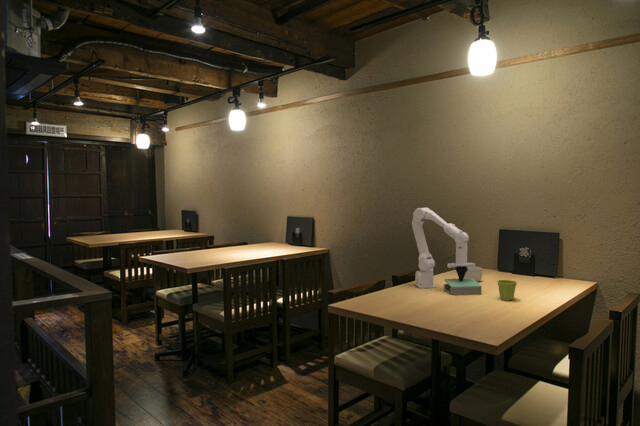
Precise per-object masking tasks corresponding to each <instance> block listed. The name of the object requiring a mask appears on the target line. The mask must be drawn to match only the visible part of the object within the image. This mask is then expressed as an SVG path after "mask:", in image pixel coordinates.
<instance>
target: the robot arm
mask: <svg viewBox="0 0 640 426" xmlns="http://www.w3.org/2000/svg"><path fill="white" fill-rule="evenodd" d="M427 220H428V221H429V220H431V221H433V222H434V223H436V224H437V225H438V226H440V227H441V228H443V231H444V233H446V235H448V237H451V238H452V239H453V240H454V242H455V262H451V263H450V262H449V263H447V267H446V268H449V269H450V268H454V270H455V271H456V273H457V278H458V279H459V280H460V281H463V279H464V276H465V273H466V272H467V270H468V268H467V267H476V263H474V262H468V241H469V240H470V236H469V234H468V233H467V232H465V231H463V230H462V229H459V228H458V227H457V226H456V224H454V223H451V222H450V223H447V221H445V220H444V219H443V218H442V217H440V216H439V215H438V214H437V213H436V212H434V211H433V210H432V209H430V208H429V207H417V208H416V209H415V210H414V211H413V213H412V221H411V227H412V231H413V235H414V239H415V242H416V246H417V250H418V253H419V256H418V258H417V259H418V268H419V270H416V271H415V276H414V277H415V278H414V279H415V281H414V282H415V284H414V285H415V286H416V287H417V288H420V289H429V288H430V289H431V288H432V289H433V288H436V285H434V268H435V267H436V262H435V260H434V258H433V255H432V254H431V252H430V250H429V248H428V247H429V246H428V243H427V240H426V235H425V233H424V232H425V231H424V228H423V225H424V223H425V221H427Z"/></svg>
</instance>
